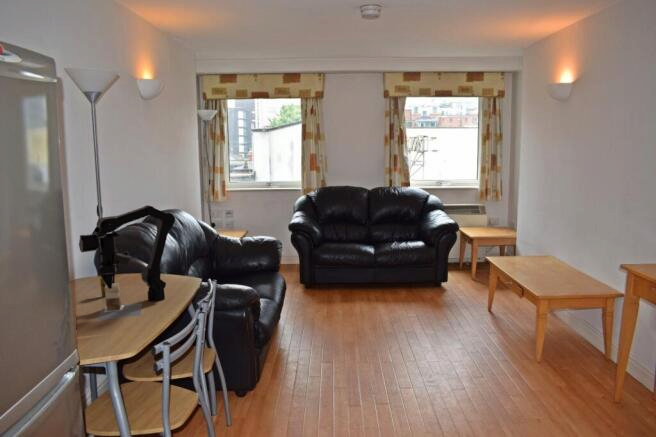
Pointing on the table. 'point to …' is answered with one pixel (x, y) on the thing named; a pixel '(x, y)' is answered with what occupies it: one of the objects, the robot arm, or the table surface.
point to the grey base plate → (121, 312)
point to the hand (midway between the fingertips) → (111, 285)
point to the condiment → (103, 287)
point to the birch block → (112, 291)
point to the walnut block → (113, 304)
